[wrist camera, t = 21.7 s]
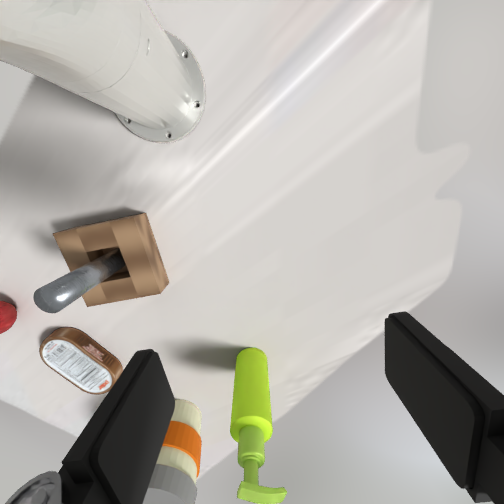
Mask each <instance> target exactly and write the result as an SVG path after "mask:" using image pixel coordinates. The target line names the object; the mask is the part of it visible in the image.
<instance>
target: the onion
mask: <svg viewBox="0 0 504 504" xmlns="http://www.w3.org/2000/svg"><path fill="white" fill-rule="evenodd" d="M16 319H17V311H16V309H15V307H14V306H13V305H12V304H10V303H7V302H4V301H0V334H1V333H3V332H5V331H7V330H8V329H9V328H11V327H12V325H13V324H14V322H15V321H16Z"/></svg>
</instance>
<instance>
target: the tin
mask: <svg viewBox="0 0 504 504" xmlns="http://www.w3.org/2000/svg"><path fill="white" fill-rule="evenodd" d="M39 352H40V356H41V358H42V360H43V362H44V363H45V364H46V365H47V366H48V367H50V368H51V369H53V370H54V371H55V372H57V373H58V374H60V375H61V376H62V377H64V378H65V379H66V380H68V381H69V382H71V383H72V384H74V385H75V386H76V387H78V388H79V389H81V390H82V391H84V392H87V393H90V394H104V393H106V392H108V391H110V390H111V388H112V387H113V385H114V384H115V382H116V381H117V379H118V378H119V376H120V375H121V373H122V372H123V368H122V365H121V363H120V361H119V360H118V359H117V358H116V357H115V356H113V355H112V354H111V353H110V352H108V351H107V350H106V349H104V348H103V347H102V346H100V345H99V344H98V343H97V342H95V341H94V340H93V339H92V338H90V337H89V336H88V335H87V334H85V333H84V332H82V331H80V330H78V329H75V328H70V327H64V328H59V329H57V330H55V331H54V332H53V333H52V334H51V335H50V336H48V337H47V338H46V339H45V340H44V341H43V342H42V344H41V346H40V349H39Z"/></svg>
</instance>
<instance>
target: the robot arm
mask: <svg viewBox="0 0 504 504" xmlns="http://www.w3.org/2000/svg"><path fill="white" fill-rule="evenodd" d="M185 56H188V58H185ZM0 61H3V62H6V63H8V64H11V65H13V66H16V67H18V68H21V69H23V70H25V71H28V72H30V73H32V74H34V75H36V76H39V77H41V78H43V79H45V80H47V81H49V82H52V83H54V84H56V85H58V86H60V87H62V88H64V89H66V90H68V91H71V92H73V93H75V94H77V95H79V96H81V97H83V98H86V99H88V100H90V101H92V102H94V103H96V104H98V105H100V106H103V107H105V108H107V109H109V110H111V111H113V112H115V113H116V115H117V116H118V118H119V119H120V120H121V122H122V123H123V124H124V125H125V126H126V127H127V128H128V129H129V130H130V131H132V132H133V133H134V134H136V135H138V136H139V137H141V138H143V139H146V140H148V141H152V142H156V143H170V142H175V141H177V140H180V139H182V138H184V137H185V136H187V135H188V134H189V133H190V132H191V131H192V130H193V129H194V128H195V127H196V125H197V124H198V122H199V121H200V118H201V116H202V113H203V111H204V105H205V96H206V90H205V82H204V78H203V75H202V71H201V69H200V67H199V64H198V62H197V60H196V59H195V57H194V55H193V54H192V52H191V51H190V49H189V48H188V47H187V46H186V45H185V44H184V43H183V42H182V41H181V40H180V39H178V38H177V37H176V36H174V35H172V34H171V33H169V32H167V31H164V30H163V28H162V27H161V25H160V23H159V22H158V20H157V18H156V17H155V15H154V13H153V12H152V10H151V9H150V7H149V5H148V4H147V0H0ZM197 104H199V105H200V107H199V108H197V107H196V106H197ZM130 120H131V122H130V123H129V121H130ZM169 134H171V138H169ZM385 374H386V377H387V380H388V381H389V383H390V385H391V386H392V388H393V389H394V391H395V392H396V394H397V395H398V397H399V398H400V400H401V401H402V403H403V404H404V406H405V407H406V409H407V410H408V412H409V413H410V414H411V416H412V418H413V419H414V421H415V422H416V424H417V425H418V427H419V428H420V430H421V431H422V433H423V434H424V436H425V437H426V439H427V440H428V442H429V443H430V445H431V446H432V448H433V449H434V451H435V452H436V454H437V455H438V457H439V459H440V460H441V462H442V463H443V464H444V466H445V468H446V469H447V471H448V472H449V474H450V475H451V476H452V478H453V480H454V481H455V482H456V484H457V485H458V486H459V487H461V488H465V489H466V490H467V491H468V493H469V495H470V496H471V497H472V499H473V500H474V502H475V503H480V502H490V501H493V503H494V504H504V395H503V394H502V393H500V392H499V391H498V390H497V389H496V388H495V387H493V386H492V385H491V384H490V383H489V382H488V381H487V380H485V379H484V378H483V377H482V376H481V375H479V373H477V372H476V371H475V370H474V369H473V368H471V367H470V366H469V365H468V364H467V363H466V362H465V361H464V360H462V359H461V358H460V357H459V356H458V355H457V354H456V353H454V352H453V351H452V350H451V349H450V348H448V347H447V346H445V345H444V344H443V343H442V342H441V341H440V340H439V339H437V338H436V337H435V336H434V335H433V334H432V333H431V332H429V331H428V330H427V329H426V328H425V327H424V326H423V325H421V324H420V323H419V322H418V321H417V320H415V319H414V318H413V317H412V316H411V315H410V314H409V313H407V312H398V313H391V314H389V316H388V318H386V319H385ZM174 409H175V399H174V396H173V393H172V391H171V388H170V385H169V382H168V380H167V377H166V374H165V371H164V369H163V366H162V363H161V361H160V358H159V355H158V353H157V352H154V351H153V350H152V349H147V350H140V351H137V352H136V353H135V354H134V355H133V357H132V358H131V360H130V361H129V363H128V364H127V366H126V367H125V369H124V370H123V372H122V373H121V375H120V376H119V378H118V379H117V381H116V382H115V384H114V385H113V387H112V388H111V390H110V391H109V393H108V394H107V396H106V397H105V399H104V400H103V402H102V403H101V405H100V406H99V407H98V409H97V410H96V412H95V413H94V415H93V416H92V418H91V419H90V421H89V422H88V424H87V425H86V427H85V428H84V430H83V431H82V433H81V434H80V436H79V437H78V439H77V440H76V442H75V443H74V445H73V446H72V448H71V449H70V451H69V452H68V454H67V455H66V457H65V458H64V459H63V461H62V464H63V466H62V468H61V469H60V471H59V472H58V473H57V472H53V471H52V472H51V471H49V472H46V473H43V474H40V475H38V476H36V477H35V478H33V479H31V480H30V481H29V482H27V483H26V484H25V485H23V486H22V487H21V488H20V489H18V490H17V491H16V492H15V494H13V495H12V496H11V497H10V498H9V499H8V501H7V502H6V503H5V504H143V501H144V498H145V495H146V492H147V489H148V486H149V483H150V480H151V477H152V474H153V471H154V468H155V466H156V463H157V460H158V457H159V454H160V451H161V448H162V445H163V442H164V439H165V436H166V433H167V430H168V427H169V424H170V421H171V418H172V415H173V413H174Z"/></svg>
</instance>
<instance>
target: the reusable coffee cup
mask: <svg viewBox="0 0 504 504" xmlns="http://www.w3.org/2000/svg"><path fill="white" fill-rule="evenodd" d="M200 430H201V412H200V410H199V408H198V407H197V406H196V405H194V404H193V403H191V402H189V401H186V400H179V399H177V400H175V409H174V413H173V415H172V418H171V421H170V424H169V427H168V430H167V433H166V436H165V439H164V442H163V445H162V448H161V451H160V454H159V457H158V460H157V463H156V466H155V468H154V471H153V474H152V477H151V480H150V483H149V486H148V489H147V492H146V495H145V498H144V501H143V504H195V500H196V496H197V488H196V478H197V477H198V475H199V469H200V456H201V438H200Z"/></svg>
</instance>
